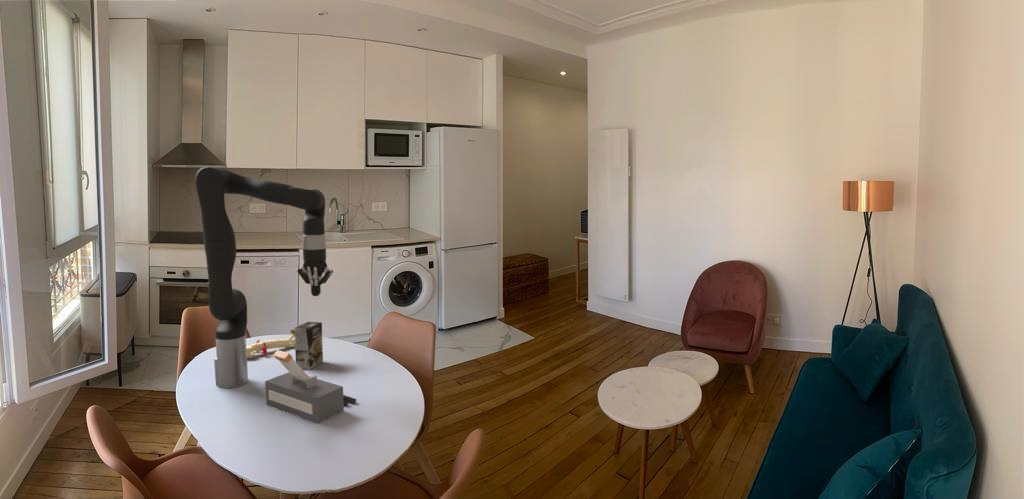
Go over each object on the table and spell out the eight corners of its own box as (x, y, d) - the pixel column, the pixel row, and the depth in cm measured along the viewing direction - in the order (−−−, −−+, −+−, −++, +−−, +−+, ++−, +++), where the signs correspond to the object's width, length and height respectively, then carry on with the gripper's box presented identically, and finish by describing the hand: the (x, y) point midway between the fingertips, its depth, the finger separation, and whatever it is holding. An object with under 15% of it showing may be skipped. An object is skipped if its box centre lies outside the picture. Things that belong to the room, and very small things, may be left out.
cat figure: (290, 346, 227) (229, 355, 208) (291, 326, 226) (229, 334, 207) (301, 351, 220) (239, 362, 202) (302, 331, 220) (240, 340, 201)
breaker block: (308, 387, 181) (307, 357, 179) (358, 403, 169) (357, 371, 168) (265, 405, 167) (263, 372, 165) (316, 424, 155) (315, 389, 153)
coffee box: (310, 370, 197) (309, 328, 194) (295, 368, 198) (293, 327, 196) (323, 361, 206) (322, 322, 203) (309, 360, 207) (307, 320, 205)
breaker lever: (300, 376, 166) (276, 349, 158) (313, 380, 164) (289, 353, 155) (296, 381, 165) (272, 355, 157) (309, 385, 162) (285, 358, 154)
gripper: (290, 247, 179) (292, 296, 181) (326, 249, 176) (327, 299, 179) (303, 244, 186) (305, 292, 189) (337, 246, 184) (338, 294, 186)
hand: (316, 295), depth 184 cm, fingers closed
